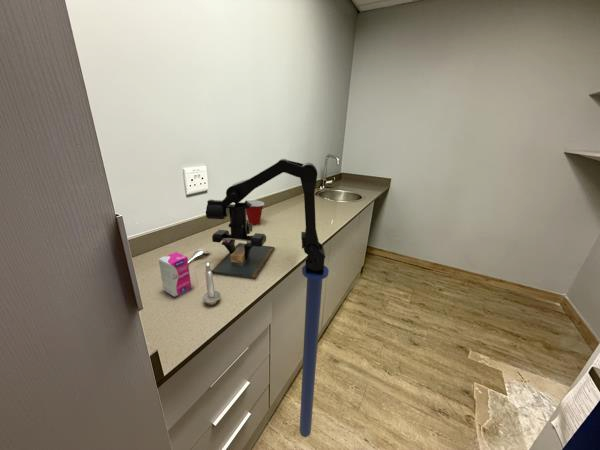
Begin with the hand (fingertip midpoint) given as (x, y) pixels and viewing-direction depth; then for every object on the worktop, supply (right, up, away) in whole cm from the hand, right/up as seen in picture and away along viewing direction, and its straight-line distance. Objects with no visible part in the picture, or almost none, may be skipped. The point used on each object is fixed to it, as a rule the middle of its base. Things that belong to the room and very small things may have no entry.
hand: (240, 258), depth 91 cm
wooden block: (0, -1, 0) cm, 1 cm away
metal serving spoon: (-20, -2, -1) cm, 20 cm away
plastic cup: (-2, +13, +42) cm, 44 cm away
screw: (-3, -10, -21) cm, 23 cm away
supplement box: (-15, -8, -16) cm, 24 cm away
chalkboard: (+1, -1, +3) cm, 4 cm away
